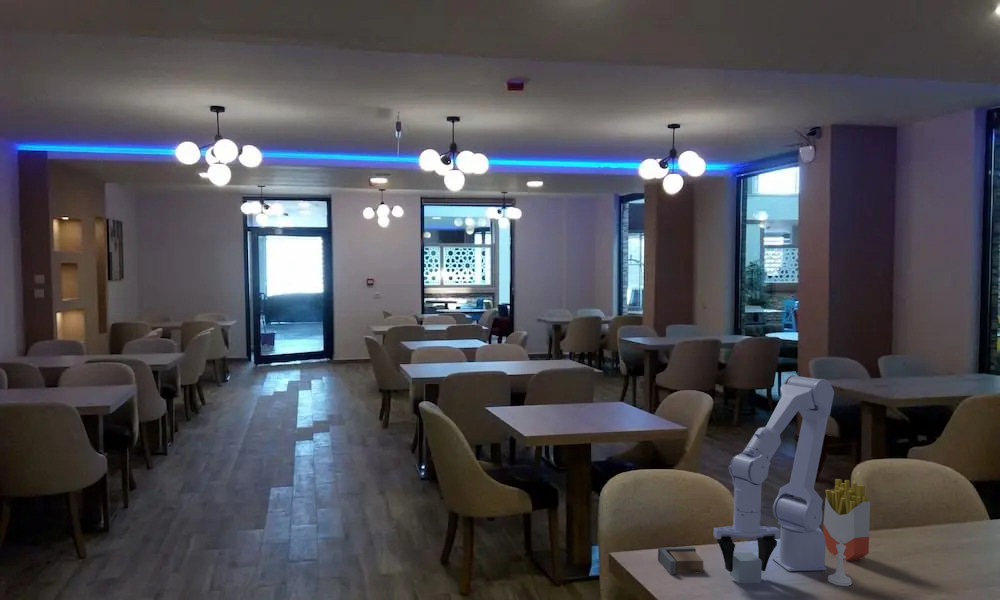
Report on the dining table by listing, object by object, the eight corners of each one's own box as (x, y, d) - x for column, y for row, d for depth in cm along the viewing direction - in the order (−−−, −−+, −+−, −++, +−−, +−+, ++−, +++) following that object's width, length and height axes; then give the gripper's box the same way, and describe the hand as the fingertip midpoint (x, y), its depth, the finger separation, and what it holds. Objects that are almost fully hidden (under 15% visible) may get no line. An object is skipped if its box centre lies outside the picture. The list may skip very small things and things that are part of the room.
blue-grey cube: (751, 574, 170) (751, 552, 170) (761, 583, 165) (761, 560, 165) (730, 574, 170) (730, 552, 170) (739, 583, 165) (739, 561, 165)
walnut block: (694, 564, 176) (694, 551, 176) (702, 574, 170) (703, 560, 170) (669, 564, 176) (669, 551, 176) (676, 574, 170) (677, 560, 170)
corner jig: (693, 559, 179) (693, 547, 178) (707, 573, 170) (708, 560, 170) (657, 560, 178) (658, 547, 178) (670, 574, 169) (670, 561, 169)
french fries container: (852, 565, 177) (854, 489, 177) (821, 549, 188) (823, 477, 187) (868, 563, 178) (870, 488, 178) (836, 547, 189) (839, 476, 188)
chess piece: (854, 587, 164) (856, 541, 164) (830, 584, 165) (831, 539, 165) (848, 578, 169) (850, 534, 169) (825, 576, 170) (826, 532, 170)
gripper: (770, 503, 172) (768, 562, 172) (708, 504, 170) (707, 563, 171) (784, 512, 165) (783, 574, 165) (721, 513, 163) (719, 575, 164)
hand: (745, 569), depth 168 cm, fingers open, 7 cm apart
